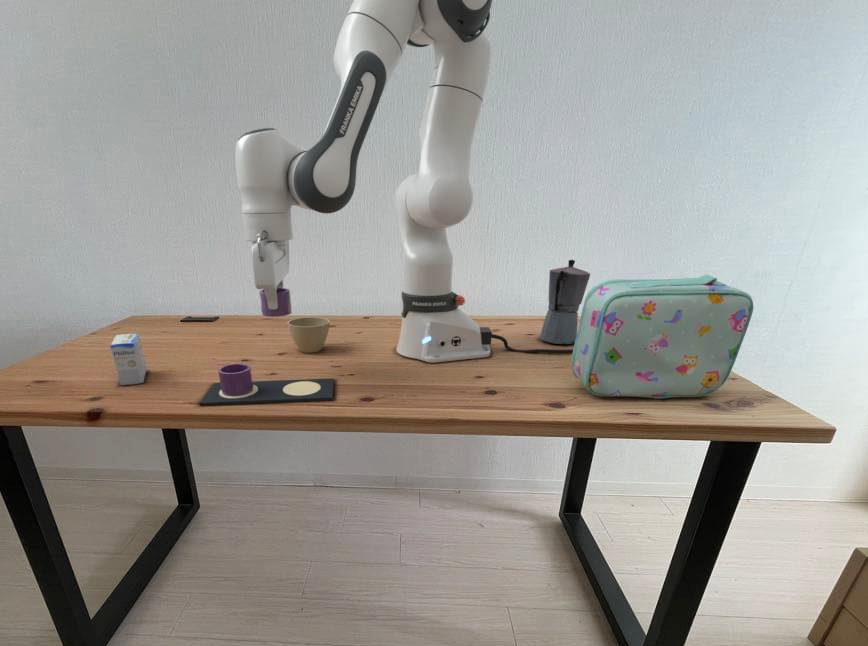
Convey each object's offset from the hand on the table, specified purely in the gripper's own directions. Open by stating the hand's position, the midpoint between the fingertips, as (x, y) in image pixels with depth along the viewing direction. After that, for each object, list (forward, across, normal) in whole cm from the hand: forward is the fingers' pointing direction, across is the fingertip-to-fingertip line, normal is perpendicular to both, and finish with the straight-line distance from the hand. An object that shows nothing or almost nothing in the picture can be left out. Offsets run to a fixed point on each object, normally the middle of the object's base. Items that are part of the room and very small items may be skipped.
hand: (276, 304), depth 90 cm
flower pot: (+15, +18, -4) cm, 24 cm away
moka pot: (+15, +19, -67) cm, 72 cm away
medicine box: (+15, +1, +32) cm, 35 cm away
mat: (+15, -9, +1) cm, 18 cm away
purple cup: (+2, 0, 0) cm, 2 cm away
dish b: (+14, -10, +8) cm, 19 cm away
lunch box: (+15, -15, -70) cm, 73 cm away
